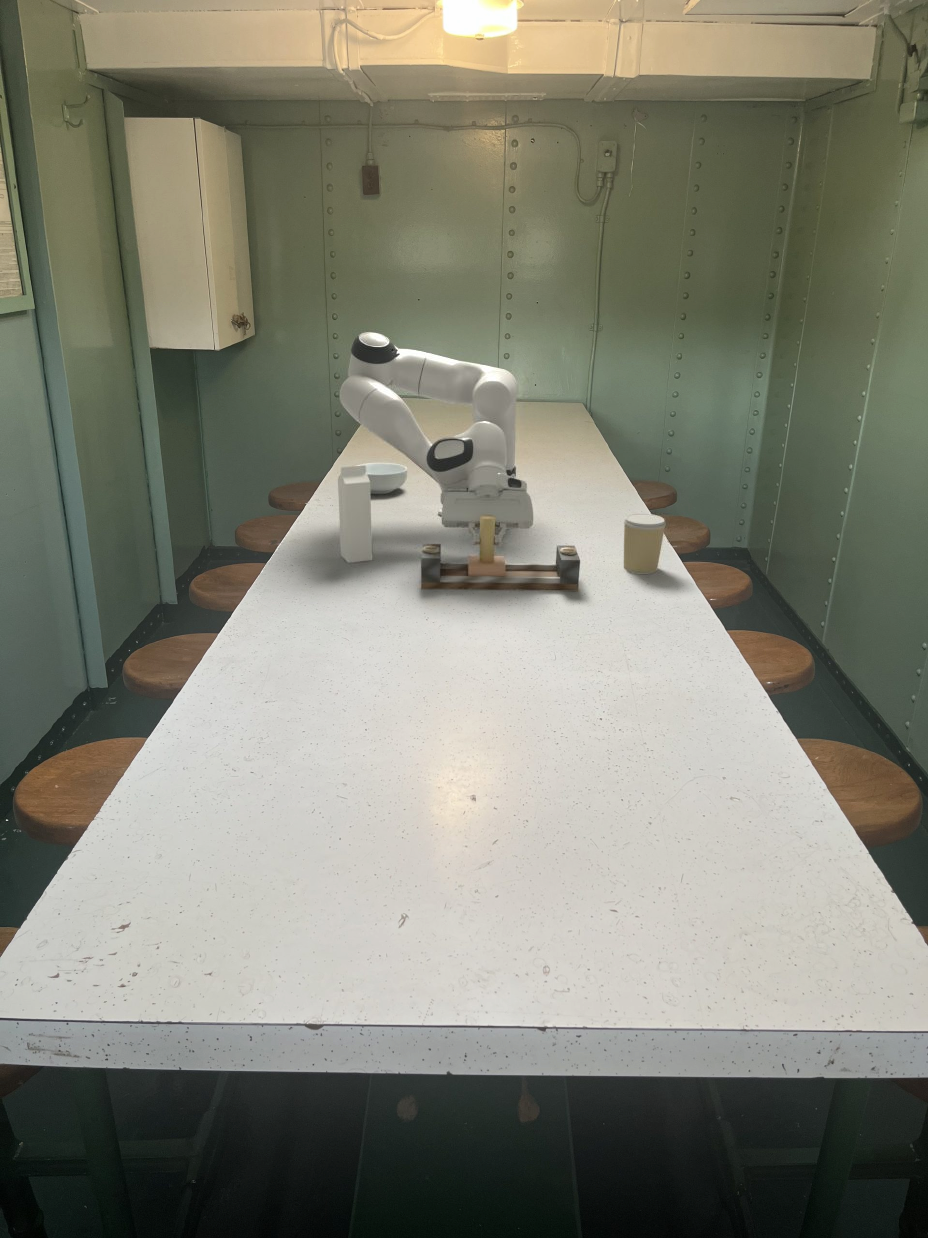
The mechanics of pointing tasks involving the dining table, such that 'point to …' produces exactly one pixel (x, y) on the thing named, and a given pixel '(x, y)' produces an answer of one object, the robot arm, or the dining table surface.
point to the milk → (355, 514)
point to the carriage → (486, 552)
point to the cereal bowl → (385, 477)
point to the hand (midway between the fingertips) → (487, 543)
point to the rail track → (515, 578)
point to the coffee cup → (642, 542)
